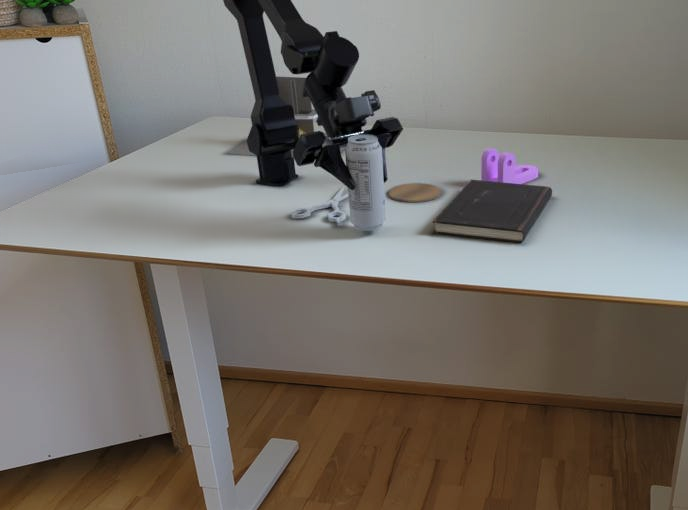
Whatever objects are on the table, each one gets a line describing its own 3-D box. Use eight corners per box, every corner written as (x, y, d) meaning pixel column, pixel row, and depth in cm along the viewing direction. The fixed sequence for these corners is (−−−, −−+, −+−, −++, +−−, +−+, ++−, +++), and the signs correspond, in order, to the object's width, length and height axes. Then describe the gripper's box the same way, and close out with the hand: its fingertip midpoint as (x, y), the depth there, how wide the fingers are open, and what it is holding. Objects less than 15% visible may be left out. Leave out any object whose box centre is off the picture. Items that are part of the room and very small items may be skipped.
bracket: (502, 191, 155) (503, 156, 151) (481, 185, 158) (481, 150, 155) (543, 175, 163) (544, 141, 160) (522, 169, 166) (523, 136, 163)
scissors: (284, 217, 141) (330, 181, 158) (285, 221, 142) (330, 184, 158) (340, 222, 139) (380, 185, 155) (340, 226, 139) (380, 189, 156)
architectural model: (331, 159, 173) (325, 90, 166) (225, 153, 178) (214, 86, 170) (360, 135, 190) (355, 71, 182) (262, 130, 194) (254, 67, 187)
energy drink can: (393, 225, 137) (389, 138, 129) (366, 235, 133) (360, 146, 125) (370, 216, 140) (364, 131, 133) (343, 225, 137) (336, 138, 129)
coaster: (380, 198, 152) (380, 196, 151) (401, 182, 160) (401, 180, 159) (428, 204, 149) (428, 202, 148) (448, 188, 157) (448, 186, 156)
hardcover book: (433, 233, 136) (432, 220, 135) (471, 190, 155) (471, 179, 154) (523, 243, 132) (524, 230, 131) (551, 198, 151) (552, 186, 150)
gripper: (293, 82, 122) (335, 171, 120) (394, 67, 131) (434, 149, 130) (275, 123, 131) (314, 206, 130) (372, 106, 141) (409, 183, 139)
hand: (369, 185), depth 132 cm, fingers closed on energy drink can, 6 cm apart
